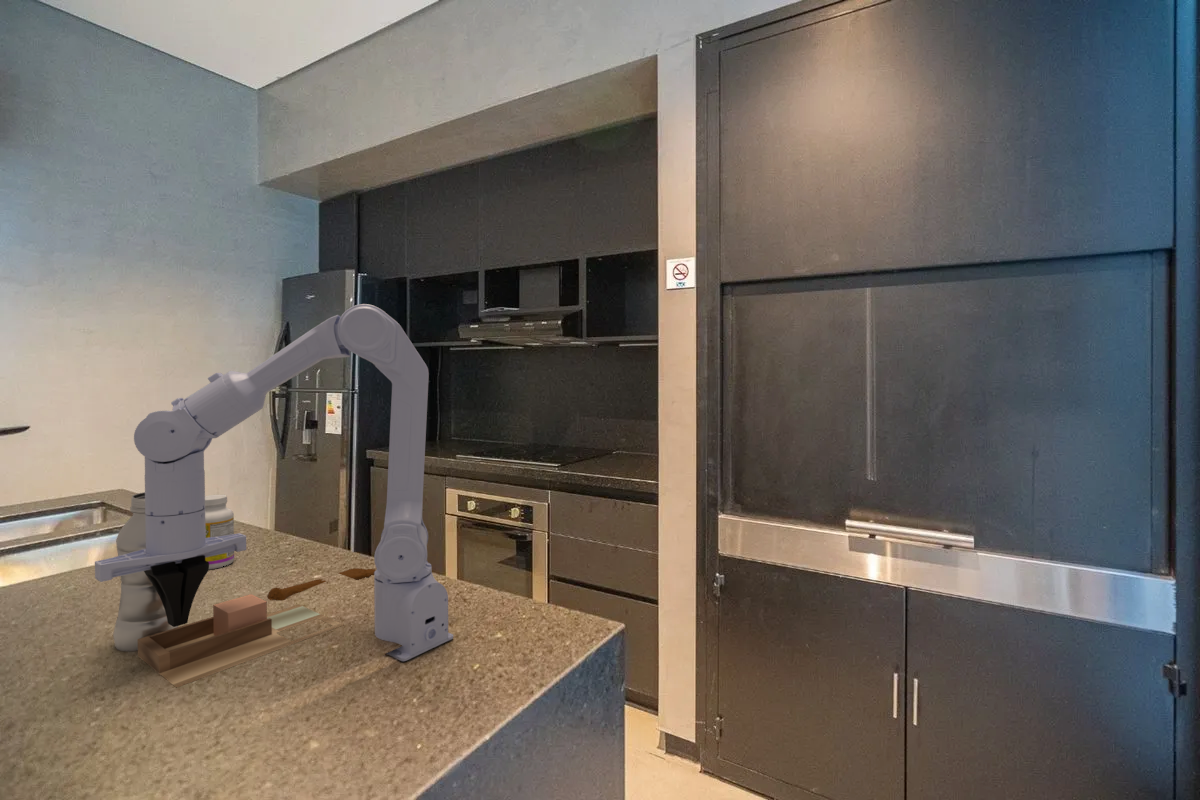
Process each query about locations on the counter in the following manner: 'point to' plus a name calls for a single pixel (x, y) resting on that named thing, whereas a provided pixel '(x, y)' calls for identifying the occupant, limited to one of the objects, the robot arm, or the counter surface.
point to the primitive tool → (286, 592)
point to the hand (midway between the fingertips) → (177, 623)
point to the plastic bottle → (137, 587)
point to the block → (238, 613)
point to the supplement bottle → (218, 527)
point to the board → (221, 644)
